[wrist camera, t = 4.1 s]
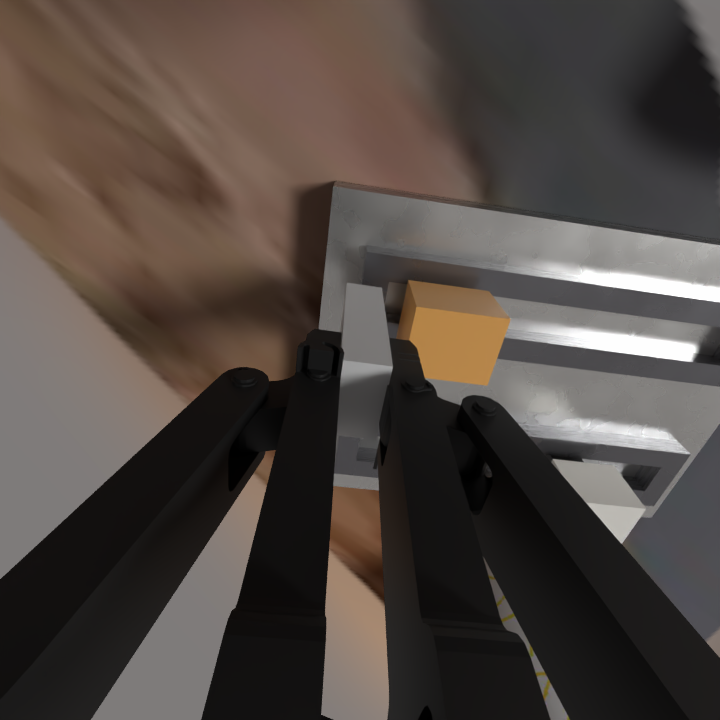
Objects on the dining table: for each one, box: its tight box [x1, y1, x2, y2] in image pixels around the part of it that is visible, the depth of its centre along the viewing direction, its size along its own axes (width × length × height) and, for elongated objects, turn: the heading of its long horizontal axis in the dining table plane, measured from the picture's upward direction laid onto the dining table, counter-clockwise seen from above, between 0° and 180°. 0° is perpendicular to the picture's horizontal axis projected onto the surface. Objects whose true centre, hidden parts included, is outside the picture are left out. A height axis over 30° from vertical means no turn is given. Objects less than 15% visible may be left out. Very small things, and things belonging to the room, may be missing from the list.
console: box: [319, 181, 720, 518], centre depth 24 cm, size 18×24×3 cm
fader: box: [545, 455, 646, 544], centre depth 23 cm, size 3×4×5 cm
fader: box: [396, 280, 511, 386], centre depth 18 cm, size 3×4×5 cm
